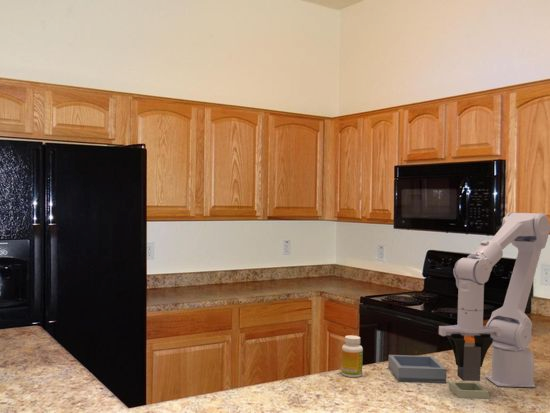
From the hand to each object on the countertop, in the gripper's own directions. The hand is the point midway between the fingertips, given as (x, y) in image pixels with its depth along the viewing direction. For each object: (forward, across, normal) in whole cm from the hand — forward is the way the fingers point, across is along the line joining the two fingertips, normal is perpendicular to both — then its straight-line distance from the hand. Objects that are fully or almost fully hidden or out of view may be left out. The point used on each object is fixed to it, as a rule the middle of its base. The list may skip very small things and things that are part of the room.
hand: (468, 365), depth 131 cm
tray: (+6, +8, -14) cm, 17 cm away
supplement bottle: (+7, +25, -14) cm, 29 cm away
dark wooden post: (+3, 0, 0) cm, 3 cm away
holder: (+6, 0, 0) cm, 6 cm away
